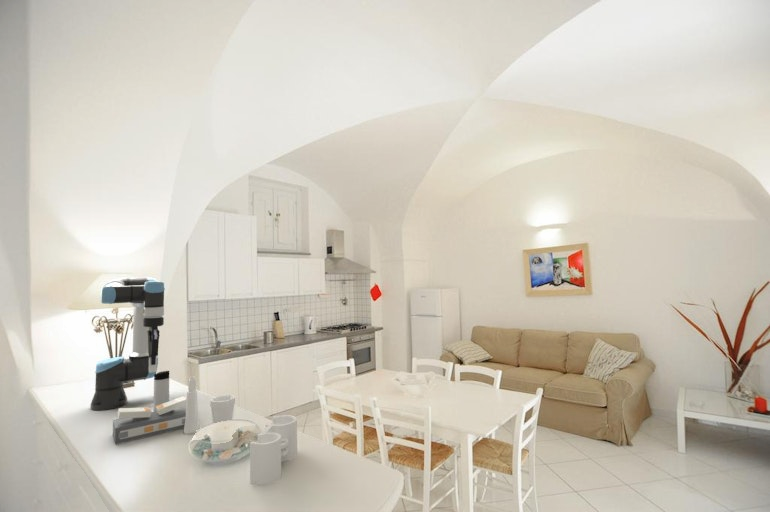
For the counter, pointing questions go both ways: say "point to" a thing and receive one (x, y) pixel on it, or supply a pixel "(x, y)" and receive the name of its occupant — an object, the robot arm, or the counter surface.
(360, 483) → the counter surface
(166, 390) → the travel mug
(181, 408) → the switch unit
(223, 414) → the foam cup
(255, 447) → the pair of white mugs
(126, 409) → the rocker
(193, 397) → the cosmetic bottle
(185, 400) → the plate
